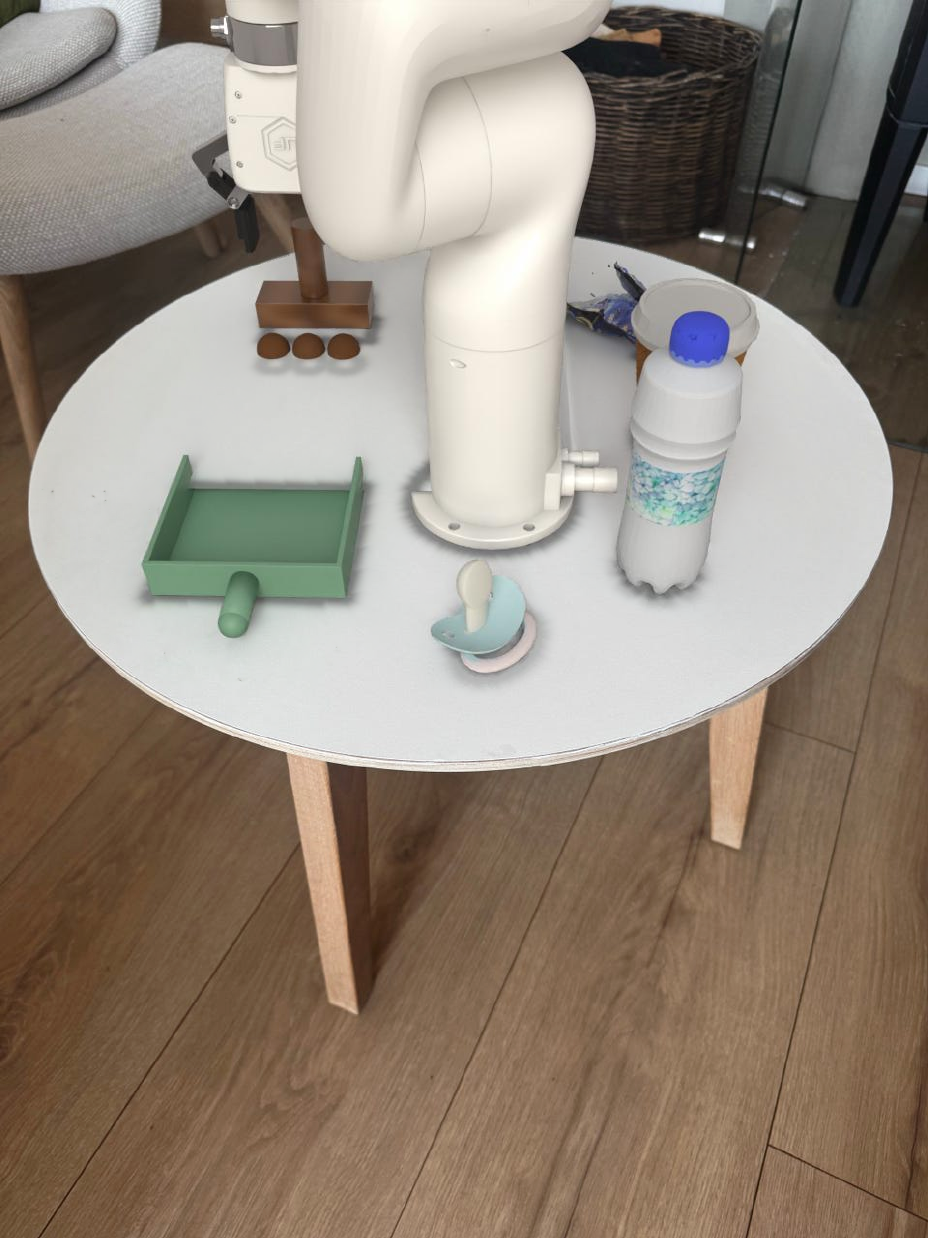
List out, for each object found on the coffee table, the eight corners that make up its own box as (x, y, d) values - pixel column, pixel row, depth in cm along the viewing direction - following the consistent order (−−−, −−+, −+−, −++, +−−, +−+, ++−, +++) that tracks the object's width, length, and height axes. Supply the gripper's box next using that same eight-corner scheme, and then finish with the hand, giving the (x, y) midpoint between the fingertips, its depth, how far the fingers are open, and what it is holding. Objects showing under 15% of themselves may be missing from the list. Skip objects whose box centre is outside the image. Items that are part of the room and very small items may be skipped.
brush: (375, 319, 96) (366, 212, 89) (371, 342, 93) (361, 234, 86) (270, 318, 97) (251, 212, 89) (261, 342, 94) (242, 234, 86)
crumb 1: (294, 355, 92) (290, 326, 90) (289, 373, 90) (284, 343, 88) (262, 355, 92) (257, 326, 90) (257, 373, 90) (251, 343, 88)
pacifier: (555, 628, 68) (484, 589, 70) (563, 561, 63) (486, 523, 65) (492, 695, 64) (419, 652, 66) (496, 629, 59) (417, 586, 61)
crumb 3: (363, 356, 92) (360, 326, 90) (359, 373, 90) (356, 344, 88) (331, 355, 92) (327, 326, 90) (327, 373, 90) (323, 343, 88)
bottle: (701, 542, 73) (755, 290, 59) (708, 607, 69) (768, 350, 54) (610, 537, 74) (641, 286, 59) (610, 601, 69) (644, 345, 55)
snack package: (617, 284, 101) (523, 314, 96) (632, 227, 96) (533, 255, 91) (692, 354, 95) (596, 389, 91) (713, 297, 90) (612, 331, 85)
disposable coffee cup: (596, 448, 81) (609, 314, 73) (650, 393, 87) (668, 263, 78) (702, 489, 78) (730, 353, 69) (752, 429, 83) (783, 296, 74)
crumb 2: (329, 355, 92) (325, 326, 90) (324, 373, 90) (320, 344, 88) (297, 355, 92) (292, 326, 90) (292, 373, 90) (287, 343, 88)
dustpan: (191, 486, 79) (183, 454, 76) (364, 488, 78) (361, 456, 76) (133, 649, 67) (120, 616, 64) (337, 652, 66) (331, 620, 64)
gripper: (157, 51, 75) (202, 265, 87) (386, 54, 74) (398, 268, 87) (180, 19, 80) (219, 225, 92) (394, 21, 79) (404, 228, 92)
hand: (306, 246), depth 90 cm, fingers open, 9 cm apart
